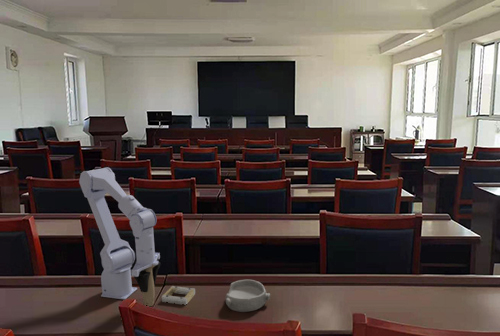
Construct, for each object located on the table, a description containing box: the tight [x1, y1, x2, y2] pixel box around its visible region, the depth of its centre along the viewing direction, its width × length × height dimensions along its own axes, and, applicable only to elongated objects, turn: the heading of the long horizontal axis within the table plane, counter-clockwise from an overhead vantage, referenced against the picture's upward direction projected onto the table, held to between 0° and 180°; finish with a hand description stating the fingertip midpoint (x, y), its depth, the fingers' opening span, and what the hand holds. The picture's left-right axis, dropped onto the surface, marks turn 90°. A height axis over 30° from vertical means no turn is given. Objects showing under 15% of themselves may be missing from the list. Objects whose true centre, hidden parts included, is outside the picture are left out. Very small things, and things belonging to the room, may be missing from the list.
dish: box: [225, 279, 271, 313], centre depth 134 cm, size 14×14×5 cm
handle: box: [135, 260, 156, 307], centre depth 132 cm, size 5×6×15 cm
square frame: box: [161, 285, 196, 306], centre depth 138 cm, size 9×8×2 cm
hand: (148, 288), depth 133 cm, fingers closed on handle, 4 cm apart
